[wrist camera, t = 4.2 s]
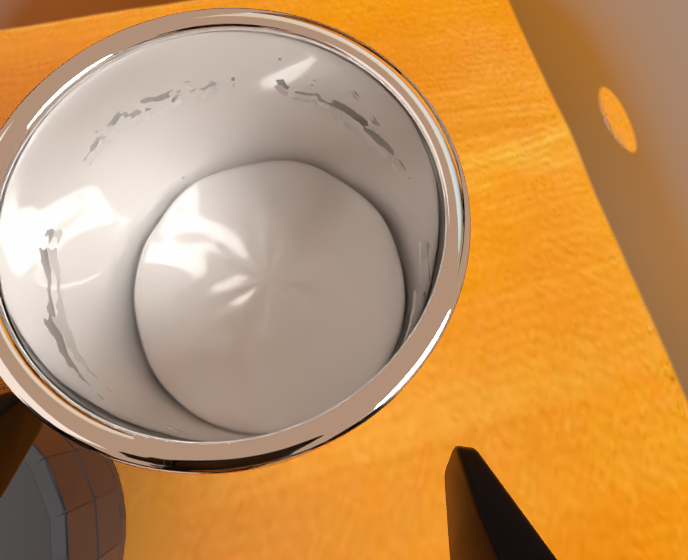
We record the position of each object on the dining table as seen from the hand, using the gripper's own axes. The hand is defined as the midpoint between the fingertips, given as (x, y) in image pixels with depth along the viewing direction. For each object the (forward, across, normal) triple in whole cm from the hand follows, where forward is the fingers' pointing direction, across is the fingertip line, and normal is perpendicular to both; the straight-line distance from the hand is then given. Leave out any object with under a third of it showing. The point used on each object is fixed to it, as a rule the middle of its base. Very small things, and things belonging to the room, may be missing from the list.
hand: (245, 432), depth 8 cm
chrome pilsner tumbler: (+10, 0, +5) cm, 11 cm away
